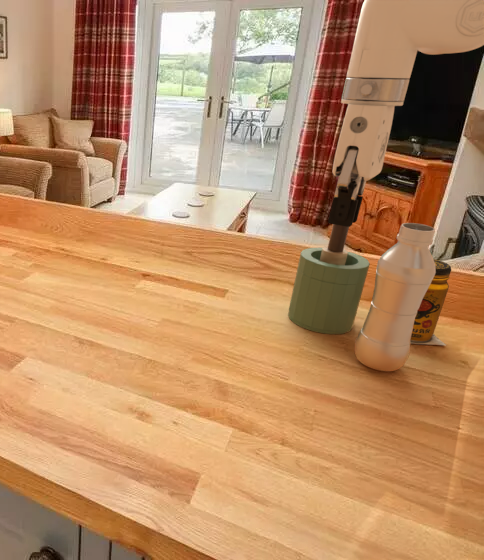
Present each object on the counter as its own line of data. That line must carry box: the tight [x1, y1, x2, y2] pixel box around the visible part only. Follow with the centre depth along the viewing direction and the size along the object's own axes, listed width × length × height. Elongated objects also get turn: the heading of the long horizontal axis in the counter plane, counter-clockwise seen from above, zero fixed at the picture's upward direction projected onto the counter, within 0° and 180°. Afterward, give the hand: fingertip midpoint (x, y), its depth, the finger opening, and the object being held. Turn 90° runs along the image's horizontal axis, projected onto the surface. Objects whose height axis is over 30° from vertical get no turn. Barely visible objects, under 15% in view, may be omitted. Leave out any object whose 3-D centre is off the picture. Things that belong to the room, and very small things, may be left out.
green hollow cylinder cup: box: [287, 246, 371, 335], centre depth 79 cm, size 10×10×11 cm
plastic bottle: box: [353, 222, 436, 372], centre depth 65 cm, size 6×7×20 cm
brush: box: [320, 224, 350, 265], centre depth 75 cm, size 4×4×15 cm
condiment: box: [410, 258, 452, 346], centre depth 75 cm, size 7×8×12 cm
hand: (342, 221), depth 74 cm, fingers closed on brush, 2 cm apart
